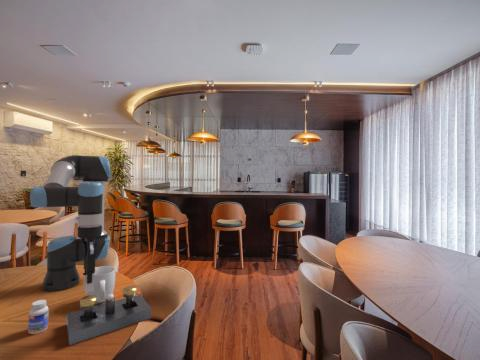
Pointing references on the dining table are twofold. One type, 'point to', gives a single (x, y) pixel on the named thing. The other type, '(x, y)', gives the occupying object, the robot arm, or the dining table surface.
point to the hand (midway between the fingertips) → (88, 291)
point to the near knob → (88, 304)
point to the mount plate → (106, 319)
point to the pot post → (110, 303)
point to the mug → (103, 282)
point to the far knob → (130, 294)
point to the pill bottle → (38, 317)
